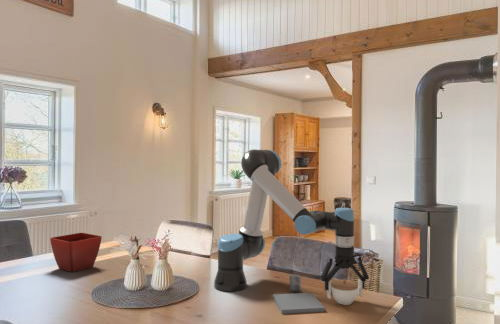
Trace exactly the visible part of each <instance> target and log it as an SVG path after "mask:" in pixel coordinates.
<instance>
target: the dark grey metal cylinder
mask: <svg viewBox="0 0 500 324" xmlns="http://www.w3.org/2000/svg"><path fill="white" fill-rule="evenodd" d="M301 284H302V276H301V275H300V274H294V273H293V274H290V275H289V294H294V293H302V291H301V290H302V289H301V288H302V285H301Z"/></svg>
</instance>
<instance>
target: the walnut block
mask: <svg viewBox="0 0 500 324" xmlns="http://www.w3.org/2000/svg"><path fill="white" fill-rule="evenodd" d="M334 280H339V279H338V278H332V279H331V280H330V281H329V282H330V283H331V282H332V281H334ZM323 282H324V283H323V284H324V288H323V289H324V292H326V293H327V290H326V289H325V281H323ZM331 295H332V286H331Z"/></svg>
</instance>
